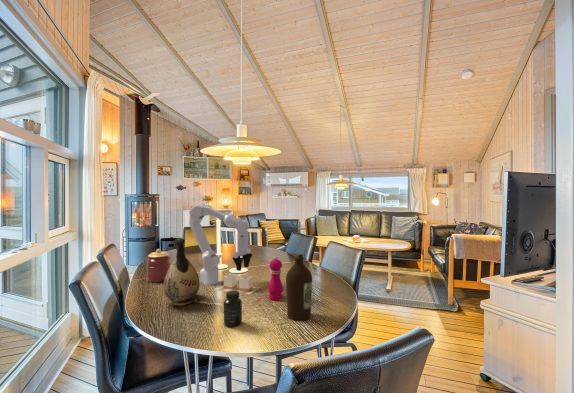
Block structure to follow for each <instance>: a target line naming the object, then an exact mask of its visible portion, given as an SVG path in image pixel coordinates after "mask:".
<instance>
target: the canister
mask: <svg viewBox="0 0 574 393" xmlns="http://www.w3.org/2000/svg"><path fill="white" fill-rule="evenodd" d="M170 261H171V257H170V253H169V252H167V251H162V250H161V248H157V249H156V250H155V251H154V252H150V253H149V254H147V258H146V265H145V267H146V281H147V282H149V283H162V282H164V280H165V277H166V274H167V272H168V270H169V268H170V266H171V264H172V263H171V262H170Z"/></svg>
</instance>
